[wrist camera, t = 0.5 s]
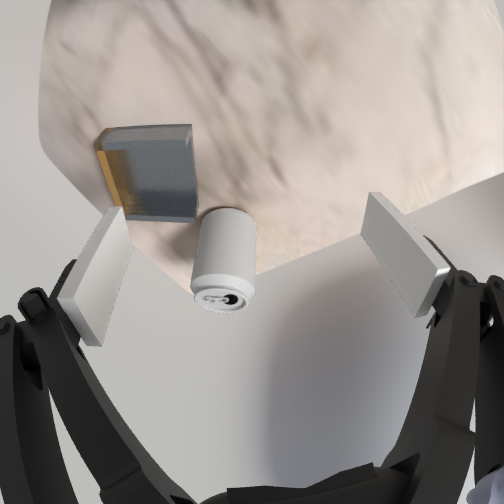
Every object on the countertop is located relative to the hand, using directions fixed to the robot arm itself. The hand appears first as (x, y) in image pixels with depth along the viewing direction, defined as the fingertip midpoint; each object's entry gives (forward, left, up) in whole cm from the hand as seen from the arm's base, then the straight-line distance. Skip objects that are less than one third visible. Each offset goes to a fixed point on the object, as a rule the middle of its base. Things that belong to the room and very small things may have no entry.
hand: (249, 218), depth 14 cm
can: (+18, -2, -16) cm, 24 cm away
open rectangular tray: (+9, -11, -16) cm, 21 cm away
